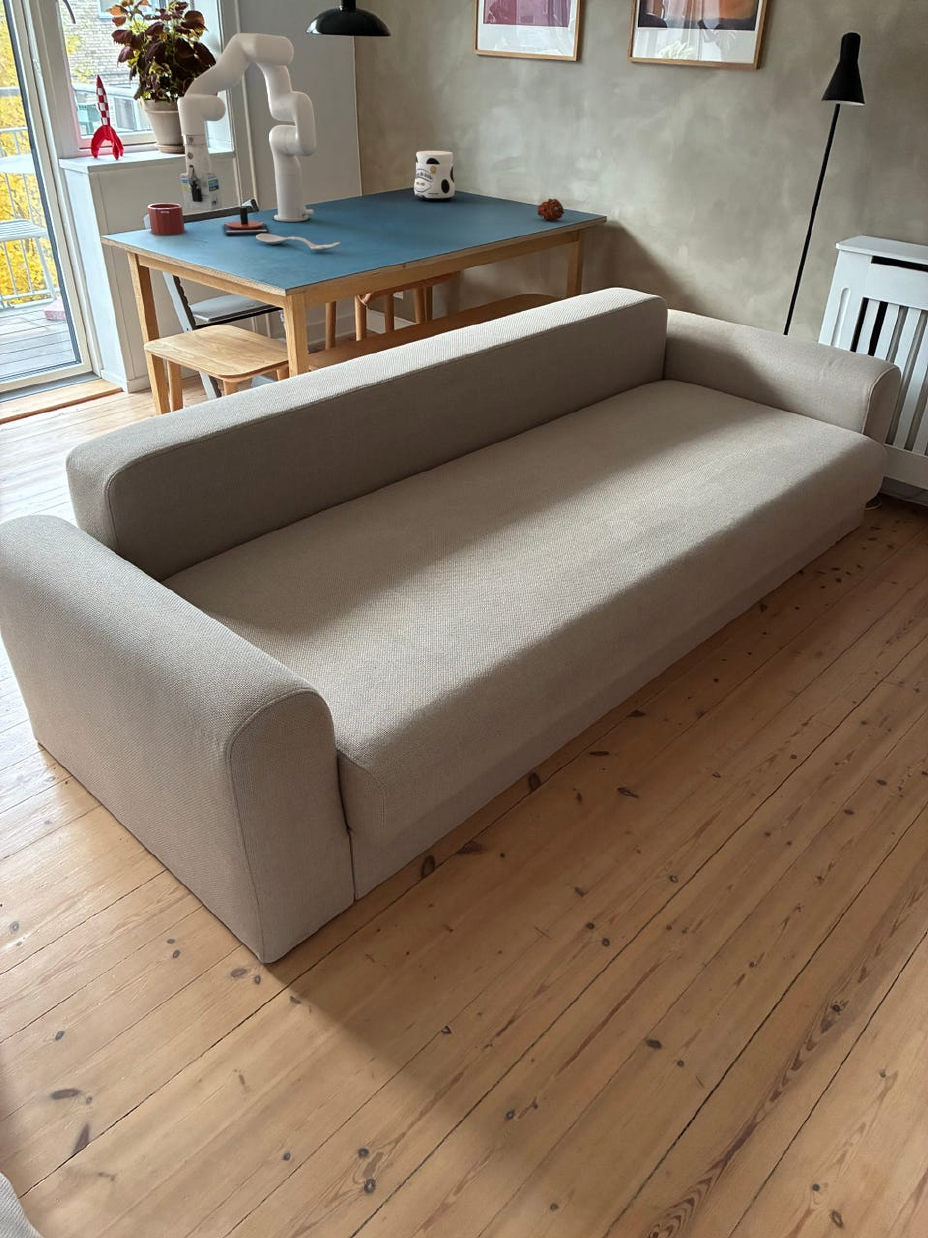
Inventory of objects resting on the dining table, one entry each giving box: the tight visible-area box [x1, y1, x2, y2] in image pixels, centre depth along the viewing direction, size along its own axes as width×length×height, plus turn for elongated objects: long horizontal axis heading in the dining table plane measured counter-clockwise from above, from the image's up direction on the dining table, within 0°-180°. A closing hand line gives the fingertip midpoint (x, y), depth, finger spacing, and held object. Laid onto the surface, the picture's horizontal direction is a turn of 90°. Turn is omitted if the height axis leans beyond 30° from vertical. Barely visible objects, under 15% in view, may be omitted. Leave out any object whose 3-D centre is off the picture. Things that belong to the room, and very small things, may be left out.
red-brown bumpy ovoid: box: [536, 198, 565, 222], centre depth 363 cm, size 8×8×12 cm
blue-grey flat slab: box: [223, 221, 269, 237], centre depth 337 cm, size 14×20×1 cm
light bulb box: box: [179, 172, 223, 212], centre depth 314 cm, size 11×7×11 cm, turn 71°
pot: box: [147, 202, 186, 236], centre depth 329 cm, size 11×17×8 cm
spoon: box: [255, 233, 341, 252], centre depth 311 cm, size 9×32×4 cm, turn 56°
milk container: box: [413, 150, 456, 202], centre depth 397 cm, size 17×17×18 cm
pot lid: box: [227, 206, 262, 230], centre depth 335 cm, size 12×12×7 cm
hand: (202, 198), depth 315 cm, fingers closed on light bulb box, 7 cm apart
